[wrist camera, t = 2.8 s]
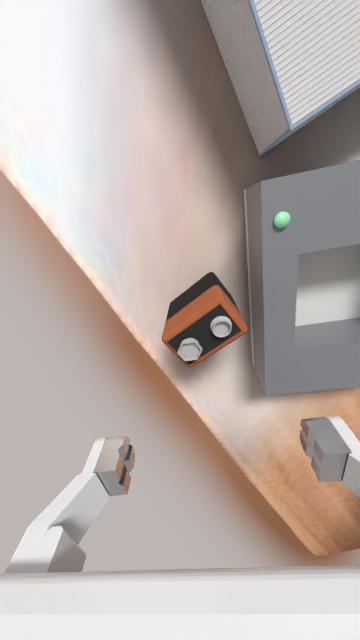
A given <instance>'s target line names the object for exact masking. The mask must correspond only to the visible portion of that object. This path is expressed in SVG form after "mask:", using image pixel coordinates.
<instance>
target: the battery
mask: <svg viewBox="0 0 360 640" xmlns="http://www.w3.org/2000/svg"><path fill="white" fill-rule="evenodd" d="M247 330H248V328H247V325H246V323H245V321H244V319H243V317H242V315H241V314H240V312H239V310H238V308H237V306H236V304H235V302H234V300H233V298H232V296H231V295H230V293H229V292H228V291H227V289H226V288H225V287H224V286H223V284H222V283H221V282H220V280H219V279H218V278H217V276H216V275H215V274H214V273H213V272H210V273H208V274H207V275H205V276H204V277H203V278H201V279H200V280H199V281H198V282H196V283H195V284H194V285H193V286H191V287H190V288H189V289H187V290H186V291H185V292H184V293H182V294H181V295H180V296H179V297H177V298H176V299H175V300H173V301H172V302H171V303H170V306H169V310H168V315H167V319H166V323H165V328H164V332H163V336H162V341H163V342H164V343H165V344H166V345H167V346H168V347H169V348H170V349H171V350H172V351H173V352H174V353H175V354H176V355H177V357H178V358H179V359H180V360H181V361H182V362H183V363H184V364H185V365H187V366H188V367H193V366H195V365H196V364H198V363H200V362H201V361H203V360H204V359H206V358H207V357H209V356H211V355H212V354H214V353H215V352H217V351H218V350H220V349H222V348H223V347H225V346H226V345H228V344H229V343H231V342H233V341H234V340H236V339H237V338H239V337H240V336H242V335H243V334H245V333H246V332H247Z"/></svg>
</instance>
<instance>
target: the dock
mask: <svg viewBox="0 0 360 640" xmlns="http://www.w3.org/2000/svg"><path fill="white" fill-rule="evenodd" d="M244 207H245V227H246V247H247V267H248V287H249V307H250V327H251V347H252V365H253V368H254V370H255V372H256V375H257V377H258V380H259V382H260V384H261V387H262V389H263V392H264V394H265V396H273V395H283V394H293V393H303V392H313V391H323V390H333V389H343V388H353V387H360V160H357V161H352V162H348V163H343V164H338V165H334V166H329V167H324V168H320V169H315V170H310V171H305V172H301V173H296V174H291V175H287V176H282V177H277V178H273V179H268V180H263V181H260V182H258V183H256V184H254V185H252V186H250V187H248V188H246V189H244Z"/></svg>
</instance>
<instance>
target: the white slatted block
mask: <svg viewBox="0 0 360 640" xmlns="http://www.w3.org/2000/svg"><path fill="white" fill-rule="evenodd" d="M201 3H202V5H203V8H204V11H205V13H206V16H207V19H208V21H209V24H210V26H211V29H212V32H213V34H214V37H215V40H216V42H217V45H218V48H219V50H220V53H221V56H222V58H223V61H224V63H225V66H226V69H227V71H228V74H229V77H230V79H231V82H232V85H233V87H234V90H235V93H236V95H237V98H238V100H239V103H240V106H241V108H242V111H243V114H244V116H245V119H246V122H247V124H248V127H249V130H250V132H251V135H252V137H253V140H254V143H255V145H256V148H257V151H258V153H259V155H258V156H259V157H261V156H262V155H263V154H264V153H266V152H267V151H268V150H270V149H271V148H273V147H274V146H276V145H277V144H279V143H280V142H282V141H283V140H284V139H286V138H287V137H289V136H290V135H292V134H293V133H295V132H296V131H298V130H299V129H300V128H302V127H303V126H305V125H306V124H308V123H309V122H311V121H312V120H314V119H315V118H316V117H318V116H319V115H321V114H322V113H324V112H325V111H327V110H328V109H330V108H331V107H333V106H334V105H335V104H337V103H338V102H339V101H340V100H343V99H344V98H345V97H347V96H348V95H350V94H351V93H353V92H354V91H356V90H357V89H359V88H360V0H201Z"/></svg>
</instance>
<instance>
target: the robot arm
mask: <svg viewBox="0 0 360 640" xmlns="http://www.w3.org/2000/svg"><path fill="white" fill-rule="evenodd" d="M301 427H302V428H303V429H302V430H301V431H300V440H301V444H302V447H303V449H304V451H305V453H306V455H307V456H309V457H310V458H311V459H312V463H311V466H312V468H313V470H314V472H315V474H316V476H317V478H318V480H319V482H335V481H342V483H343V484H344V485H345V486H346V487H347V488H349V489H350V490H351V491H352V492H353V493H354V494H355V495H356V496H357V497H358V498H360V442H359V440H358V439H357V438H356V437H355V435H354V434H353V433H352V431H351V430H350V429H349V427H348V426H347V425H346V423H345V422H344V421H343V420H342V418H341V417H339V416H331V417H318V418H309V419H302V420H301ZM129 443H130V439H129V438H128V436H123V437H109V438H98V439H97V440H96V441H95V443H94V445H93V448H92V450H91V452H90V454H89V457H88V460H87V462H86V464H85V467H84V469H83V471H82V474H78V475H77V477H75V479H73V480H72V482H71V483H70V484H69V485H68V486H67V487H66V488H65V489H64V490H63V491H62V492H61V493H60V494H59V495H58V496H57V497H56V498H55V499H54V500H53V502H51V503H50V504H49V505H48V507H47V508H46V509H45V510H44V511H43V512H42V513H41V514H40V515H39V516H38V517H37V518H36V519H35V520H34V521H33V522H32V523H31V524H30V525H29V526H28V528H27V530H26V532H25V534H24V536H23V538H22V540H21V542H20V544H19V546H18V548H17V549H16V551H15V553H14V555H13V557H12V559H11V561H10V563H9V565H8V567H7V569H6V571H5V573H3V574H0V640H360V565H349V566H305V567H261V568H218V569H175V570H131V571H89V572H82V569H83V566H84V562H85V559H86V555H85V552H84V551H83V550H82V549H81V548H80V547H79V546H78V543H79V542H80V541H81V539H82V537H83V536H84V534H85V533H86V532H87V530H88V529H89V527H90V526H91V524H92V523H93V521H94V520H95V518H96V517H97V515H98V514H99V512H100V511H101V509H102V508H103V507H104V505H105V504H106V502H107V501H108V499H109V498H110V496H114V495H124V494H127V493H128V489H129V485H130V480H131V477H130V475H129V472H130V471H131V470H132V468H133V466H134V461H135V460H134V459H135V453H134V449H133V447H132V446H131V445H130V444H129Z"/></svg>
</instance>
